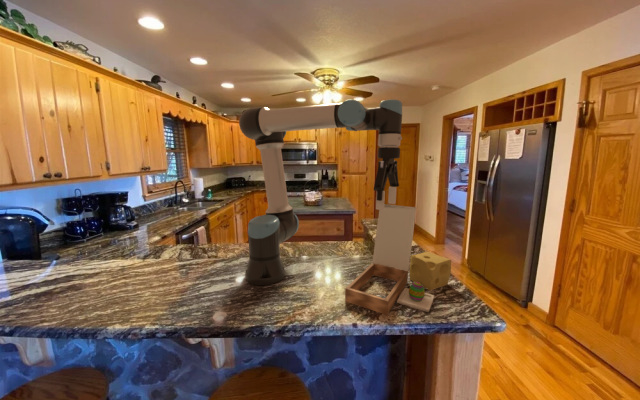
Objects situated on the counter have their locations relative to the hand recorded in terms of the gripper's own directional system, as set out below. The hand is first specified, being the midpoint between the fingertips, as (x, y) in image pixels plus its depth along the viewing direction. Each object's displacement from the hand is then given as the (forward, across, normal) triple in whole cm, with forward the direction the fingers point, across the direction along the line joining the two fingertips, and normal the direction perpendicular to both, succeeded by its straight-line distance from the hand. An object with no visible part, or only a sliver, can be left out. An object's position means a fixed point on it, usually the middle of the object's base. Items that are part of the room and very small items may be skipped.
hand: (386, 206), depth 95 cm
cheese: (+29, +8, -15) cm, 34 cm away
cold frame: (+29, -6, -1) cm, 29 cm away
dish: (+29, -8, -14) cm, 33 cm away
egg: (+28, -8, -14) cm, 33 cm away
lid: (+13, +6, -2) cm, 14 cm away
